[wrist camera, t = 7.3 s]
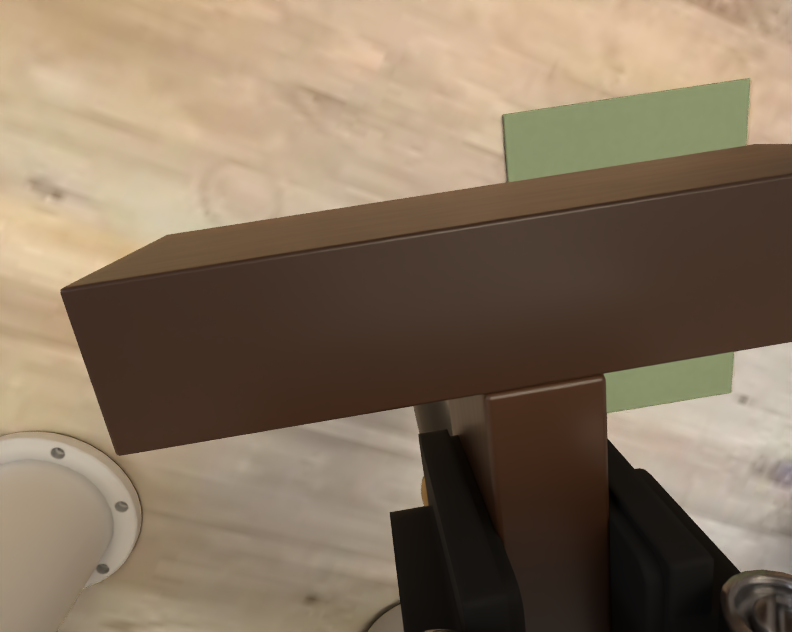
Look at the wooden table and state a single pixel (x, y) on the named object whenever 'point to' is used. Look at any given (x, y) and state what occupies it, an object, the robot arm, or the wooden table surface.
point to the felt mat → (623, 144)
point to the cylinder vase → (389, 621)
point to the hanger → (457, 330)
